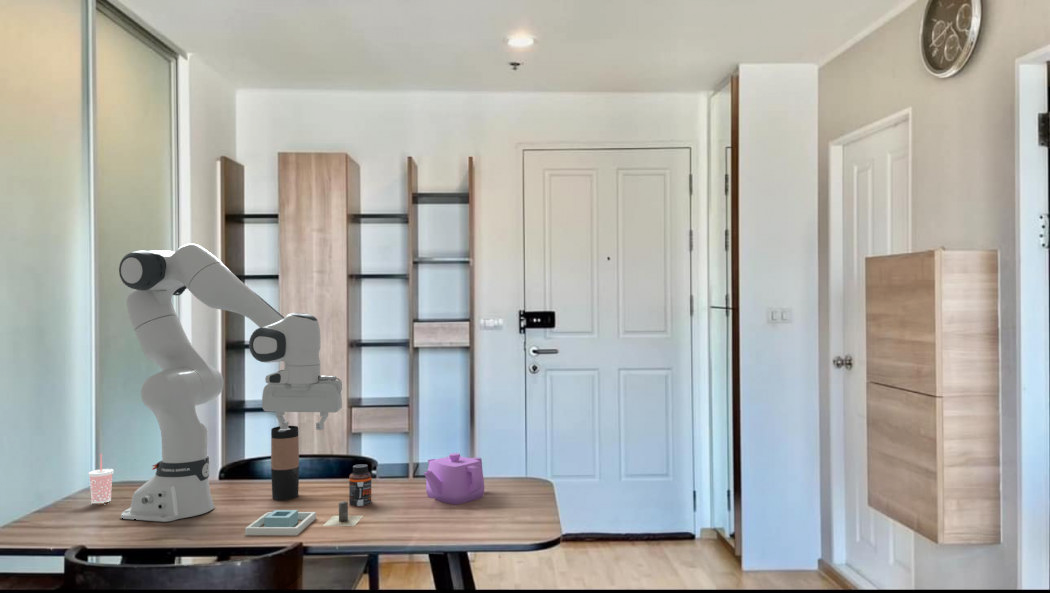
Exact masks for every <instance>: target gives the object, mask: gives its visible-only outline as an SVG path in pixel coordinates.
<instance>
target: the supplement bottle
mask: <svg viewBox="0 0 1050 593" xmlns="http://www.w3.org/2000/svg"><path fill="white" fill-rule="evenodd" d="M368 468H369V466H368V464H362V463H361V464H355V465H353V466H352V472H351V473H350V474H349V478H348V480H349V482H348V483H349V488H348V489H349V495H348V496H349V498H348V501H349V502H348V506H351V507H357V508H358V507H365V506H369V505H371V504H372V474H371V472H369V469H368Z"/></svg>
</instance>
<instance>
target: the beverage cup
mask: <svg viewBox="0 0 1050 593" xmlns="http://www.w3.org/2000/svg"><path fill="white" fill-rule="evenodd" d="M99 461H100V462H99V468H100V469H95V470H91V471H89V472H88V477H89V485H90V496H91V497H90V499H91V504H92V503H104V502H109V501H111V500H112V491H113V490H112V488H113V487H112V486H113V485H112V484H113V483H112V482H113V474H114V469H113V468H103V453H99ZM111 502H112V501H111Z"/></svg>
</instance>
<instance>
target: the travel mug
mask: <svg viewBox="0 0 1050 593" xmlns="http://www.w3.org/2000/svg"><path fill="white" fill-rule="evenodd" d="M270 430H271V433H270V442H271V443H270V448H271V450H270V460H271V461H270V465H271V466H270V467H271V470H270V472H271V474H270V475H271V494H272V495H271V497H272V499H273V500H274V501H286V500H287V501H288V500H292V499H295V498H298V496H299V489H300V488H299V480H300V478H299V477H300V448H299V446H300V445H299V442H300V441H299V427H298V425H288V429H280V425H279V426H274V427H272V428H271V429H270Z"/></svg>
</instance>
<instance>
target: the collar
mask: <svg viewBox="0 0 1050 593" xmlns="http://www.w3.org/2000/svg"><path fill="white" fill-rule="evenodd" d="M270 512H271V513H270V514H269V515H267V516H266V517H264V524H263V525H264V526H263V527H296V526H297V525H298V524H299V520H298V512H299V510H298V509H293V510H292V509H274V510H272V511H270Z"/></svg>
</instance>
